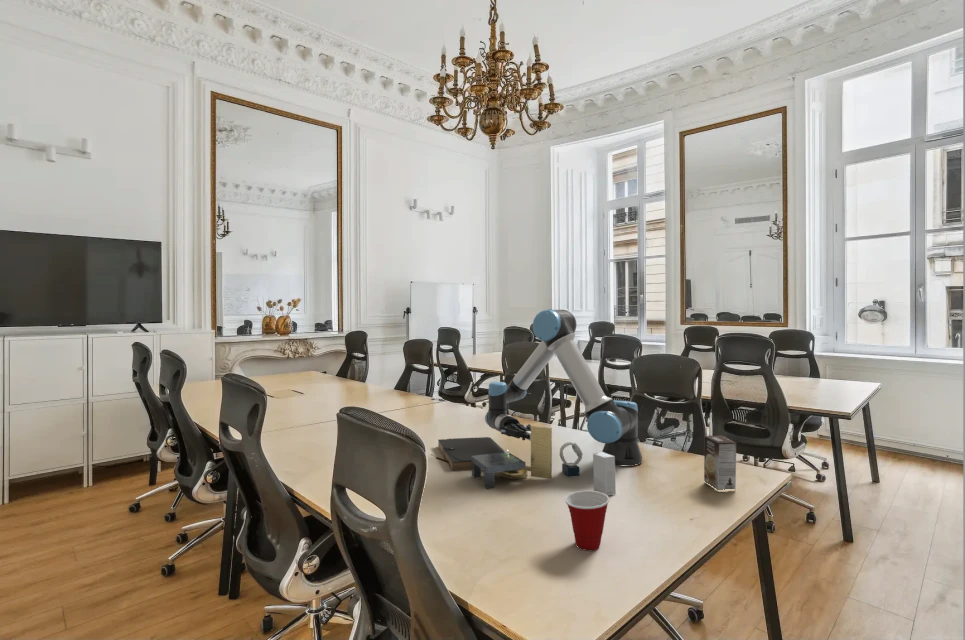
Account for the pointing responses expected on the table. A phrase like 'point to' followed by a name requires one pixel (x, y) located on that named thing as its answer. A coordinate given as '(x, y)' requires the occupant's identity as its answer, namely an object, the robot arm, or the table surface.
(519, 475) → the brass panel with base
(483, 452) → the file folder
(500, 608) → the table surface
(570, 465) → the watch
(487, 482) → the levelling stand
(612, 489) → the skincare box
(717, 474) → the coffee box
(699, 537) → the table surface
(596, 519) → the plastic cup
